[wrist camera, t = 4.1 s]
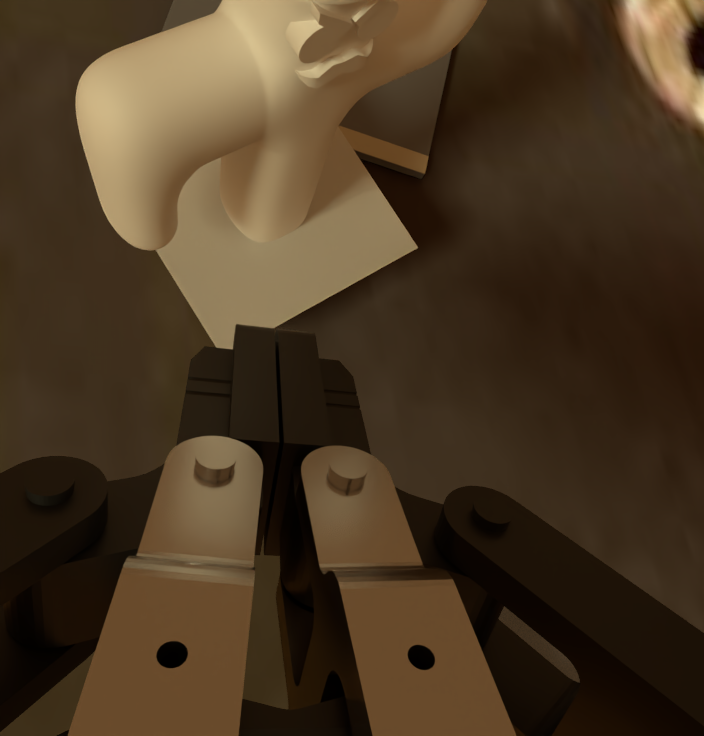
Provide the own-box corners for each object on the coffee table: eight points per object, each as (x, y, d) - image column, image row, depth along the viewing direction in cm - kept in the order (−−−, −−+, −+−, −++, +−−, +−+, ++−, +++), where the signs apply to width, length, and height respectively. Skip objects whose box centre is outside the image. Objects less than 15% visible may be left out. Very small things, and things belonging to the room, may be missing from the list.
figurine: (81, 222, 22) (-123, -302, 8) (309, 120, 25) (450, -397, 11) (189, 399, 22) (172, 165, 8) (409, 273, 25) (693, -64, 11)
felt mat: (468, -33, 29) (472, -41, 28) (421, 179, 26) (425, 173, 25) (225, -129, 27) (225, -139, 27) (144, 85, 24) (143, 78, 24)
